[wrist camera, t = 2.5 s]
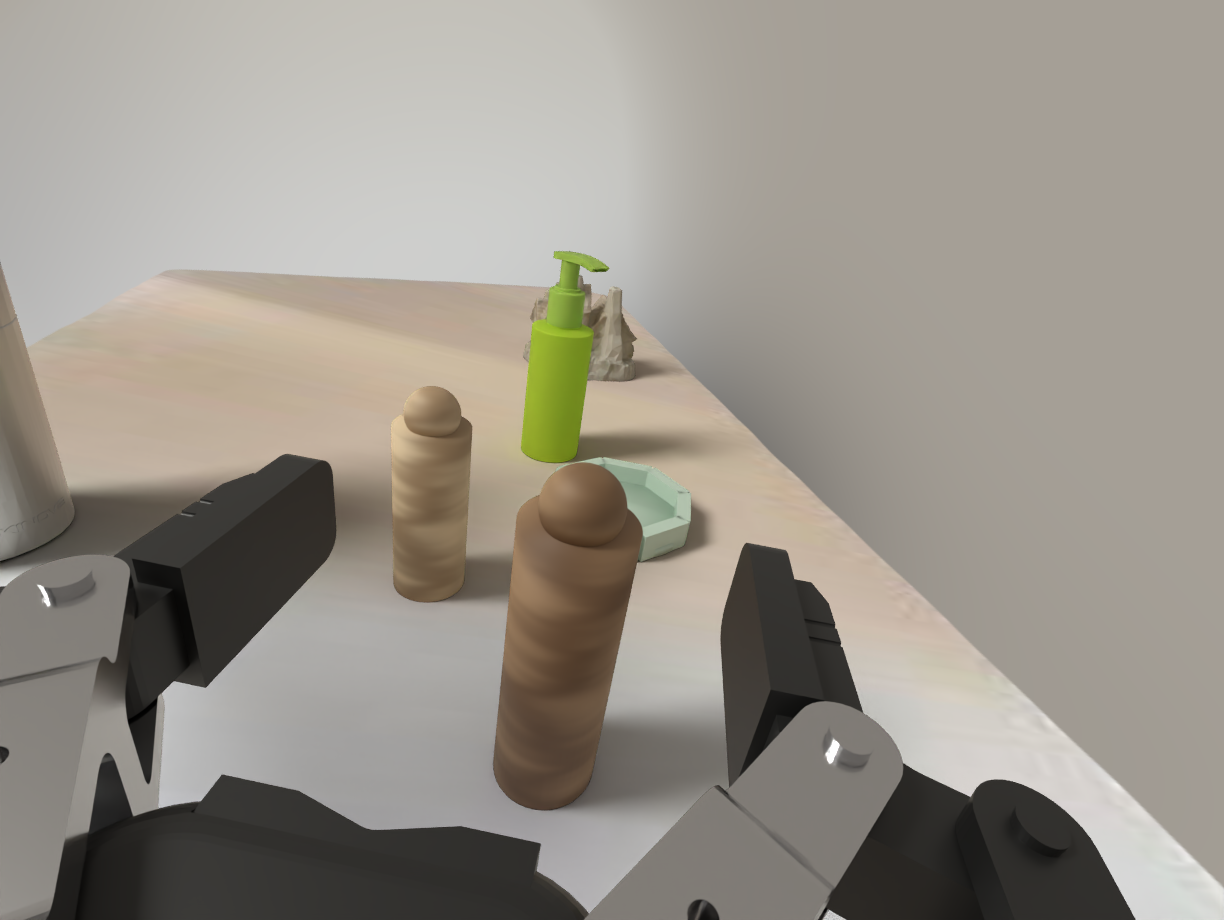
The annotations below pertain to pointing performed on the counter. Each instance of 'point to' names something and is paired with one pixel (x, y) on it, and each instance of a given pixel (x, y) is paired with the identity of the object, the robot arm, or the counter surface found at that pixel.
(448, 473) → the salt mill
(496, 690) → the counter surface
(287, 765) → the counter surface
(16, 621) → the robot arm
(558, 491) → the pepper mill
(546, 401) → the soap dispenser
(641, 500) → the dish
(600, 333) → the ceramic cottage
